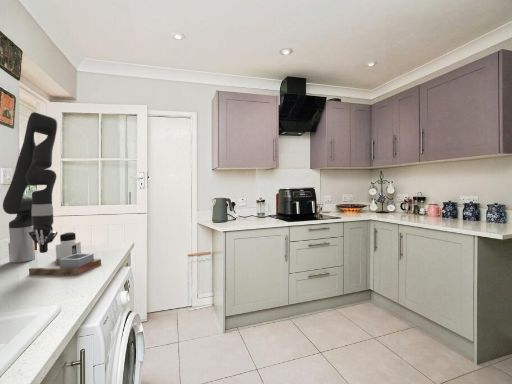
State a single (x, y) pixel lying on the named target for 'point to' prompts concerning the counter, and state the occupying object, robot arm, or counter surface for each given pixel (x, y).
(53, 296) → the counter surface
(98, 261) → the bay
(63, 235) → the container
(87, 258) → the box
